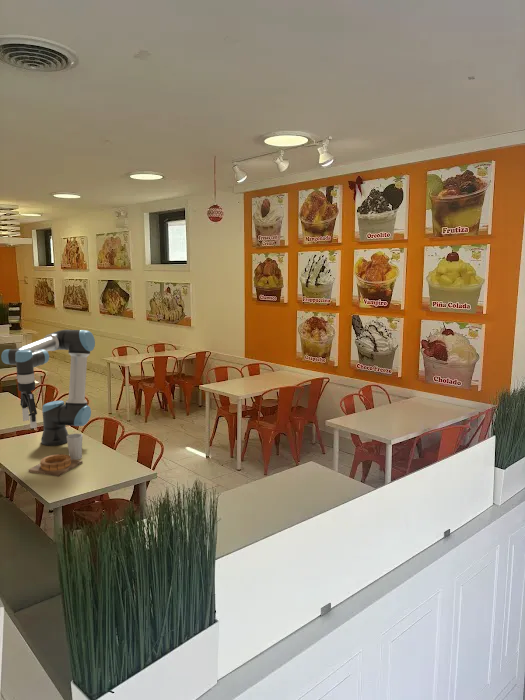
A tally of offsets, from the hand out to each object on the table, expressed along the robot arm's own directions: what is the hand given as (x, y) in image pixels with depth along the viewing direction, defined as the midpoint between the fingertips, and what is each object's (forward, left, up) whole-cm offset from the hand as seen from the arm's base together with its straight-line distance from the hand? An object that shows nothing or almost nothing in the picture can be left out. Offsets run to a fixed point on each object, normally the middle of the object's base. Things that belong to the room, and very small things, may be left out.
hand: (29, 424), depth 258 cm
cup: (-21, +9, -24) cm, 33 cm away
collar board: (-7, +8, -24) cm, 26 cm away
